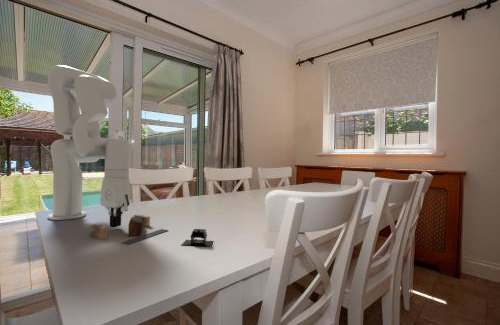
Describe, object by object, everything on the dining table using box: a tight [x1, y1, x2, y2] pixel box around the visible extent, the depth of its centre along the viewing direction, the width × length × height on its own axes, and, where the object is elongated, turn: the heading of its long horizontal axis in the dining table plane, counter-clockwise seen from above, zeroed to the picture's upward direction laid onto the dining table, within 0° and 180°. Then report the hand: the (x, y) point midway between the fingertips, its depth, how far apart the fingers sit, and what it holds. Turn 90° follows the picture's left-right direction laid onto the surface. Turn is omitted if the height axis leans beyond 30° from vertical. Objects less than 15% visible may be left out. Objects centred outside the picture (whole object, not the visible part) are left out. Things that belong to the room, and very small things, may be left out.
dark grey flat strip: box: [121, 228, 169, 246], centre depth 80 cm, size 3×16×1 cm, turn 154°
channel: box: [89, 213, 151, 240], centre depth 85 cm, size 6×18×4 cm, turn 154°
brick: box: [127, 216, 144, 238], centre depth 85 cm, size 11×4×5 cm, turn 21°
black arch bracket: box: [180, 228, 215, 248], centre depth 76 cm, size 12×7×5 cm, turn 88°
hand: (115, 226), depth 87 cm, fingers closed
